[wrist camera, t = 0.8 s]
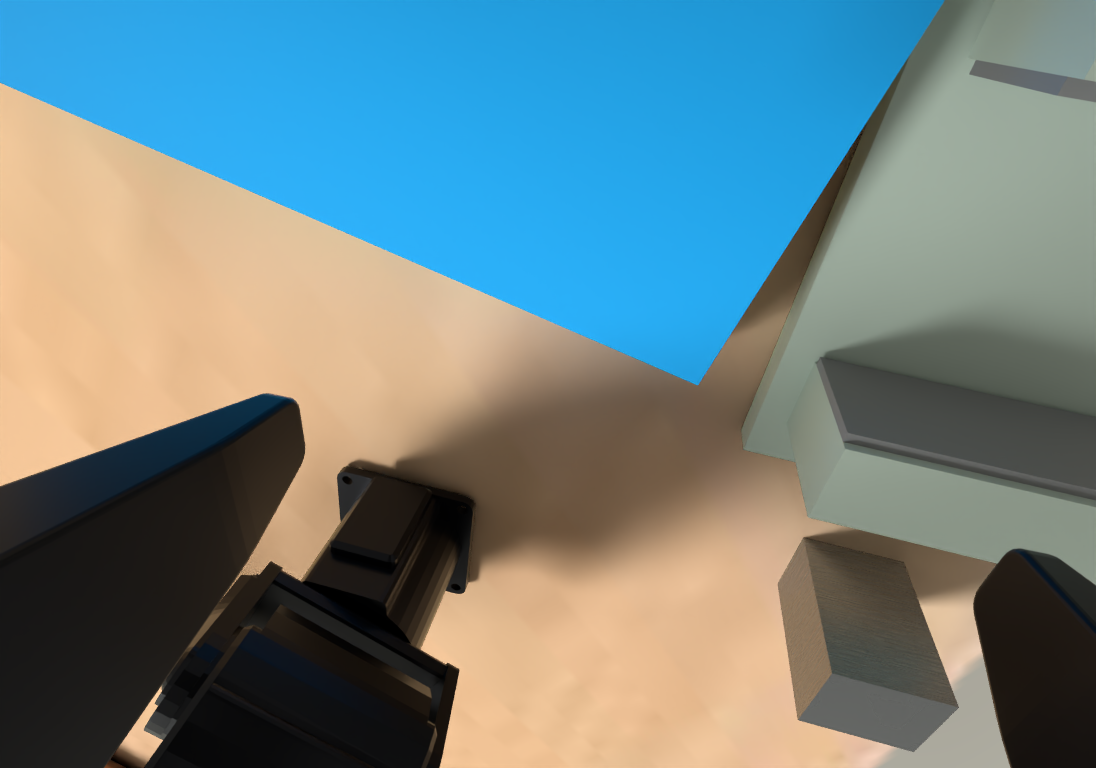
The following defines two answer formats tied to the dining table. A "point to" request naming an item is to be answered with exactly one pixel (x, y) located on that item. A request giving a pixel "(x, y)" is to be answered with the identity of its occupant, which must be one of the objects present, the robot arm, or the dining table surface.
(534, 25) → the book
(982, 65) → the jaw
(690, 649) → the dining table surface
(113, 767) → the cup and saucer
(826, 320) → the vise
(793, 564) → the block
